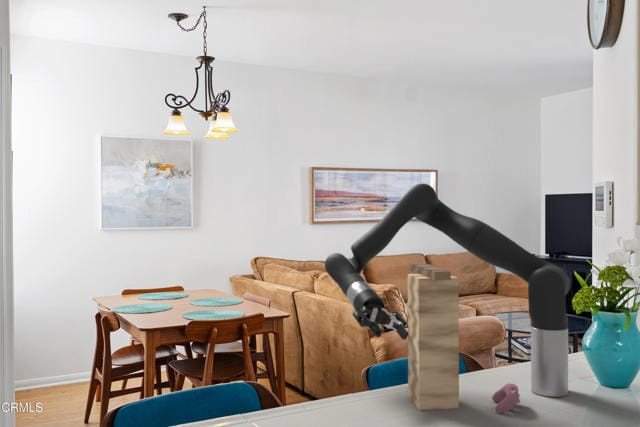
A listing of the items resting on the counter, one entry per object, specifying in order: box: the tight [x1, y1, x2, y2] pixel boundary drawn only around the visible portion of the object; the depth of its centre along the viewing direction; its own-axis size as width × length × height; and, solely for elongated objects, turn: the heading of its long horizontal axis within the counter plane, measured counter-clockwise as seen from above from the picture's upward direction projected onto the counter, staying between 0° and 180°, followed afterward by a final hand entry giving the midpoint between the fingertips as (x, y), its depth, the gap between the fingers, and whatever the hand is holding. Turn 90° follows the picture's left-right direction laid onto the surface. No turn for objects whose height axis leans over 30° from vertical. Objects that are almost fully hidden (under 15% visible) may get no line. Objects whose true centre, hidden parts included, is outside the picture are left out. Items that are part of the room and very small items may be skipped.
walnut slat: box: [408, 262, 452, 280], centre depth 155 cm, size 22×4×2 cm, turn 7°
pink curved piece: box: [491, 382, 521, 414], centre depth 149 cm, size 10×5×7 cm, turn 169°
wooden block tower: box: [406, 273, 460, 411], centre depth 153 cm, size 10×10×32 cm
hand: (393, 335), depth 153 cm, fingers open, 7 cm apart
